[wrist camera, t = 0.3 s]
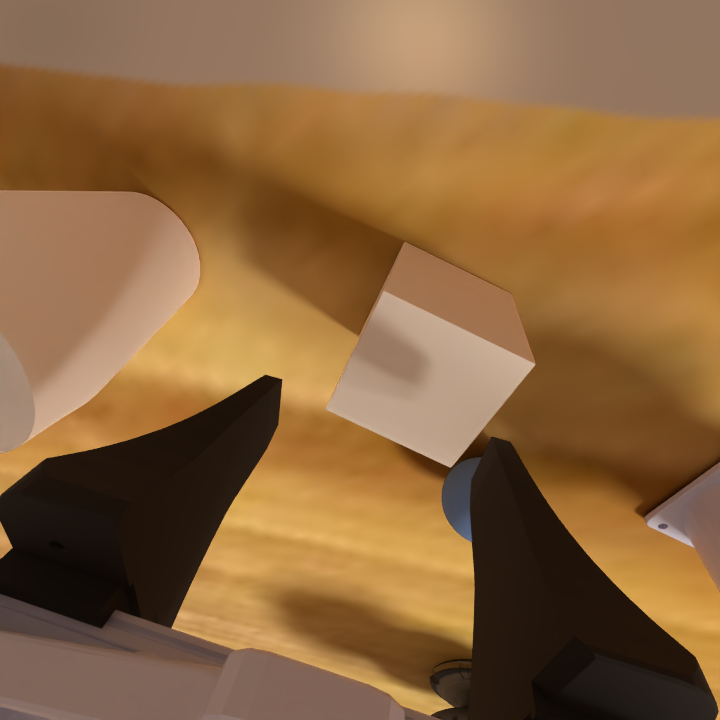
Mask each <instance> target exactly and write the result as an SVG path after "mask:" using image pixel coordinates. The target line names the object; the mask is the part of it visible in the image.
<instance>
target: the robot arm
mask: <svg viewBox="0 0 720 720" xmlns="http://www.w3.org/2000/svg"><path fill="white" fill-rule="evenodd" d="M281 388H282V379H279V378H275V377H272V376H268V375H264V376H263V377H261V378H259V379H257V380H256V381H254V382H252V383H251V384H249V385H248V386H246V387H244V388H243V389H241V390H239V391H238V392H236V393H234V394H233V395H231V396H229V397H227V398H226V399H224V400H222V401H221V402H219V403H217V404H215V405H213V406H211V407H210V408H208V409H206V410H204V411H202V412H200V413H198V414H196V415H194V416H192V417H190V418H187V419H185V420H183V421H181V422H178V423H176V424H173V425H171V426H168V427H166V428H163V429H161V430H158V431H155V432H152V433H149V434H146V435H143V436H140V437H137V438H134V439H131V440H127V441H124V442H120V443H117V444H113V445H109V446H105V447H101V448H97V449H93V450H88V451H83V452H78V453H73V454H68V455H62V456H57V457H52V458H46V459H45V460H44V461H42V462H41V463H40V464H38V465H37V466H36V467H35V468H33V469H32V470H31V471H30V472H28V473H27V474H26V475H25V476H23V477H22V478H21V479H20V480H19V481H17V482H16V483H15V484H14V485H12V486H11V487H10V488H9V489H7V490H6V491H5V492H4V493H2V494H1V496H0V522H1V524H2V526H3V528H4V530H5V532H6V534H7V536H8V538H9V540H10V543H11V545H12V547H13V548H12V549H11V550H10V551H9V552H8V553H7V554H6V555H5V556H4V557H3V558H1V559H0V720H441V719H438V718H435V717H432V716H429V715H426V714H424V713H421V712H418V711H415V710H412V709H409V708H406V707H403V706H401V705H400V704H399V703H398V702H397V701H396V700H395V699H393V698H392V697H391V696H390V695H389V694H388V693H386V692H383V691H381V690H379V689H377V688H375V687H373V686H371V685H368V684H365V683H362V682H359V681H356V680H353V679H350V678H347V677H344V676H341V675H338V674H335V673H332V672H329V671H326V670H323V669H320V668H317V667H314V666H311V665H308V664H305V663H303V662H300V661H297V660H294V659H291V658H288V657H285V656H282V655H279V654H276V653H273V652H269V651H264V650H259V649H254V648H246V649H240V650H233V649H230V648H227V647H225V646H222V645H219V644H216V643H213V642H210V641H207V640H204V639H201V638H198V637H195V636H192V635H189V634H186V633H183V632H180V631H177V630H174V629H171V627H172V625H173V623H174V621H175V618H176V616H177V614H178V612H179V609H180V607H181V605H182V603H183V600H184V598H185V596H186V594H187V592H188V590H189V587H190V585H191V583H192V581H193V579H194V577H195V575H196V572H197V570H198V568H199V566H200V564H201V562H202V560H203V558H204V556H205V554H206V552H207V550H208V548H209V546H210V544H211V541H212V539H213V537H214V536H215V534H216V532H217V530H218V528H219V526H220V524H221V522H222V520H223V518H224V516H225V514H226V512H227V510H228V509H229V507H230V505H231V504H232V502H233V500H234V499H235V497H236V496H237V494H238V493H239V491H240V489H241V488H242V486H243V485H244V483H245V482H246V480H247V479H248V477H249V476H250V474H251V473H252V471H253V469H254V468H255V466H256V465H257V463H258V462H259V460H260V459H261V457H262V455H263V454H264V452H265V451H266V449H267V447H268V445H269V443H270V441H271V439H272V437H273V435H274V432H275V430H276V428H277V426H278V421H279V410H280V399H281ZM644 520H645V522H646V524H647V525H648V526H649V527H651V528H653V529H655V530H657V531H659V532H662V533H664V534H666V535H668V536H670V537H672V538H674V539H676V540H679V541H681V542H683V543H685V544H687V545H689V546H691V547H693V548H695V549H696V551H697V553H698V554H699V556H700V558H701V560H702V562H703V563H704V565H705V567H706V569H707V570H708V572H709V574H710V576H711V577H712V579H713V581H714V583H715V584H716V586H717V588H718V590H719V591H720V462H719V463H718V464H716V465H715V466H713V467H712V468H711V469H709V470H708V471H707V472H705V473H704V474H702V475H701V476H700V477H698V478H697V479H696V480H694V481H693V482H691V483H690V484H689V485H687V486H686V487H684V488H683V489H682V490H680V491H679V492H678V493H676V494H675V495H673V496H672V497H671V498H669V499H668V500H667V501H665V502H664V503H662V504H661V505H660V506H658V507H657V508H656V509H654V510H653V511H651V512H650V513H649V514H647V515H646V516H645V518H644ZM470 521H471V536H472V549H473V563H474V579H475V599H474V628H473V649H472V665H471V680H470V695H469V706H468V717H467V720H715V719H716V717H717V715H718V712H719V711H718V707H717V703H716V701H715V699H714V696H713V694H712V692H711V690H710V688H709V685H708V683H707V681H706V679H705V676H704V674H703V672H702V670H701V668H700V665H699V663H698V661H697V659H696V657H695V656H694V655H692V654H691V653H690V652H689V651H688V650H687V649H685V648H684V647H683V646H682V645H681V644H679V643H678V642H677V641H676V640H675V639H674V638H672V637H671V636H670V635H669V634H668V633H667V632H665V631H664V630H663V629H662V628H661V627H660V626H658V625H657V624H656V623H655V622H654V621H653V620H652V619H650V618H649V617H648V616H647V615H646V614H645V613H644V612H643V611H642V610H641V609H640V608H639V607H638V606H637V605H635V604H634V603H633V602H632V601H631V600H630V599H629V598H628V597H627V596H626V595H625V594H624V593H623V592H622V591H621V590H620V589H619V588H618V587H617V586H616V585H615V584H614V583H613V582H612V581H611V580H610V579H609V578H608V577H607V576H606V574H605V573H604V572H603V571H602V570H601V569H600V568H599V567H598V566H597V565H596V564H595V563H594V562H593V560H592V559H591V558H590V557H589V556H588V555H587V554H586V552H585V551H584V550H583V549H582V548H581V546H580V545H579V544H578V543H577V541H576V540H575V539H574V538H573V537H572V535H571V534H570V533H569V532H568V530H567V529H566V528H565V526H564V525H563V524H562V522H561V521H560V520H559V518H558V517H557V515H556V514H555V513H554V511H553V510H552V508H551V507H550V506H549V504H548V503H547V501H546V500H545V498H544V497H543V495H542V494H541V492H540V490H539V489H538V487H537V486H536V484H535V483H534V481H533V479H532V478H531V476H530V474H529V473H528V471H527V469H526V468H525V466H524V464H523V463H522V461H521V459H520V457H519V456H518V454H517V452H516V450H515V449H514V447H513V445H512V444H511V442H509V441H506V440H502V439H498V438H495V437H491V439H490V441H489V443H488V445H487V447H486V449H485V452H484V454H483V456H482V458H481V460H480V462H479V464H478V466H477V469H476V471H475V473H474V475H473V477H472V479H471V492H470Z"/></svg>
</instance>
